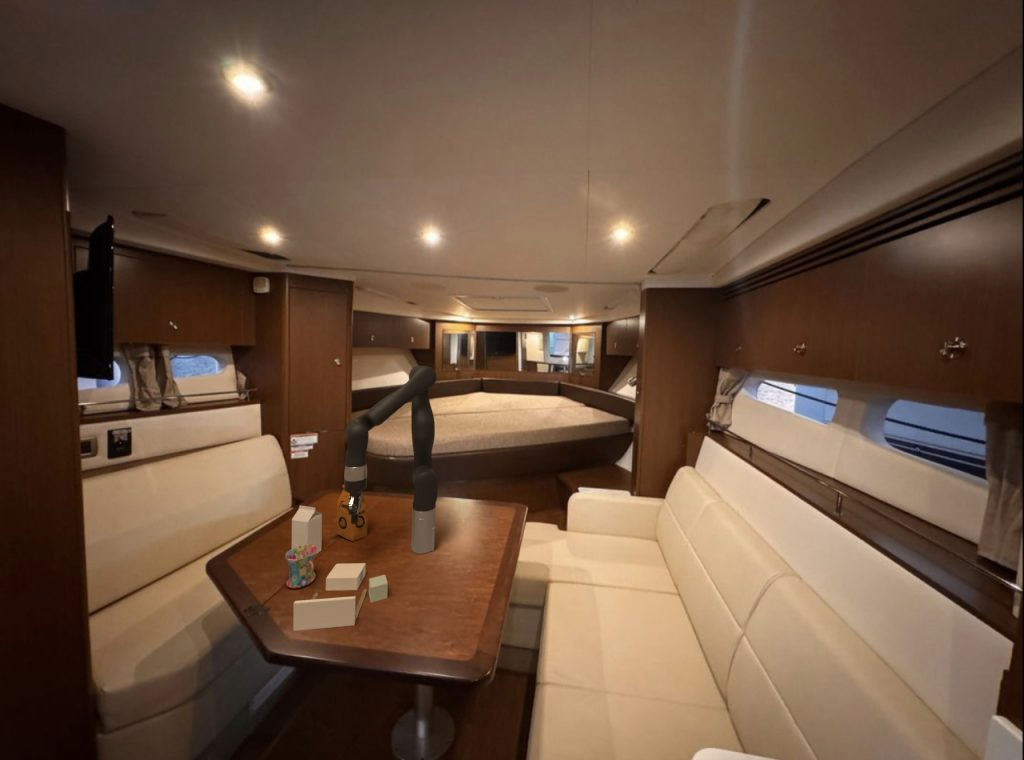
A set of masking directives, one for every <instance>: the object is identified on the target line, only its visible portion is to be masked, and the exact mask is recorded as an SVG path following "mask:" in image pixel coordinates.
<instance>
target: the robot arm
mask: <svg viewBox="0 0 1024 760" xmlns="http://www.w3.org/2000/svg"><path fill="white" fill-rule="evenodd" d="M436 381H437V373H436V370H435V369H434V368H432V367H431V366H428V365H416V366H413V367H412V368H411V369H410V371H409V373H408V381H407V382H405V383H404V384H403V385H401V386H400V387H399V388H398V389H396V390H395V391H393V392H391V393H390V394H388V395H387V396H385V397H383V398H382V399H381V400H379V401H378V402H377V403H376V404H374V405H373V406H372V407H371V408H369V410H367V411H366V412H365V413H363V414H360V415H359V416H358V417H356V418H354V419H353V420H352V421H351V422H350V423H348V424H347V426H346V427H345V430H344V434H345V437H346V439H347V449H346V453H345V465H344V466H345V467H344V473H343V474H344V478H343V479H344V480H343V483H344V484H343V485H344V488H343V489H344V490H345V491H346V492H348V493H350V496H348V501H349V504H347V506H346V507H347V510H348V513H349V515H351V524H357V523H358V521H359V511H360V508H361V503H362V498H363V497H364V492H363V491H365V490H367V488H368V485H367V484H368V467H367V458H368V457H367V454H368V453H367V450H368V447H369V435H370V434H369V432H371V430H372V429H374V428H375V427H379V426H381V425H382V424H383V423H384V422H385V421H387V420H388V419H389V418H390V417H392V416H393V415H394V414H395V413H397V411H398V410H400V409H402V407H403V406H405V405H406V404H407V403H409V402H410V401H411V405H410V406H411V409H410V410H411V411H410V414H411V416H410V418H411V421H410V422H411V423H410V426H411V443H412V450H413V467H412V478H411V479H412V483H413V486H414V487H413V500H412V509H411V510H412V512H411V513H412V515H411V516H412V517H411V545H410V546H411V547H410V548H411V551H412V552H413V553H415V554H418V555H419V554H420V555H421V554H423V555H424V554H426V553H427V554H428V553H430V552H434V551H435V546H436V545H435V544H436V505H437V500H438V490H439V489H438V488H439V487H438V486H439V484H438V482H439V481H438V476H437V474H436V473H435V469H434V466H433V455H432V454H433V448H434V444H435V443H434V442H435V435H436V429H435V426H436V425H435V424H436V422H435V417H434V412H433V409H432V406H431V402H430V388H431V387H433V386H434V385H435V384H436Z"/></svg>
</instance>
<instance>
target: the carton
mask: <svg viewBox="0 0 1024 760" xmlns="http://www.w3.org/2000/svg"><path fill="white" fill-rule="evenodd" d="M366 567H367V564H366V563H365V562H363V563H359V562H358V563H355V562H354V563H336V564H335V565H334V566H333V568H332V569H331V570H330V572H329V574H328V575H327V577H326V578H325V591H357V590H358V589H359V587H360V585H361V584H362V581H363V580H364V578H365V576H366Z"/></svg>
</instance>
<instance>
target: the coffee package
mask: <svg viewBox="0 0 1024 760" xmlns="http://www.w3.org/2000/svg"><path fill="white" fill-rule="evenodd" d="M342 488H343V489H342V492H341V493H340V495H339V497H338V500H337V502H336V535H338V536H340V537H342V538H345V539H346V540H349V541H351V542H354V543H355V542H356V541H358V540H361V539H363V538H365V537H367V536H368V521H369V519H368V508H367V502H366V500H365V497H364V496H363V498H362V503H361V508H360V511H359V521H358V523H357V524H351V515H349V513H348V510H347V507H346V506H347V504H349V501H348V496H350V493H348V492H346V491H345V490H344V484H342Z"/></svg>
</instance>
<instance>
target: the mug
mask: <svg viewBox="0 0 1024 760" xmlns="http://www.w3.org/2000/svg"><path fill="white" fill-rule="evenodd" d="M316 552H317V547H316V546H314V545H301V546H298V547H295V548H293V549H292V548H291V549H289V550H287V552H286V553H285V554H284V558H285V560H286V562H287V564H288V567H289V570H288V571H289V573H288V578H287V580H286V583H285V584H286V587H288V588H290V589H299V588H304V587H306V586H308V585H309V584H311V583H312V582H313V581H314V580H315V579H316V573H315V571H314V569H315V566H314V560H315V559H314V558H315V556H316V555H317V554H316ZM315 554H316V555H315Z"/></svg>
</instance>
